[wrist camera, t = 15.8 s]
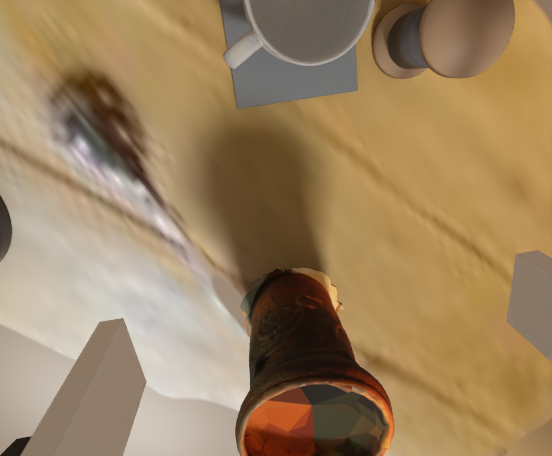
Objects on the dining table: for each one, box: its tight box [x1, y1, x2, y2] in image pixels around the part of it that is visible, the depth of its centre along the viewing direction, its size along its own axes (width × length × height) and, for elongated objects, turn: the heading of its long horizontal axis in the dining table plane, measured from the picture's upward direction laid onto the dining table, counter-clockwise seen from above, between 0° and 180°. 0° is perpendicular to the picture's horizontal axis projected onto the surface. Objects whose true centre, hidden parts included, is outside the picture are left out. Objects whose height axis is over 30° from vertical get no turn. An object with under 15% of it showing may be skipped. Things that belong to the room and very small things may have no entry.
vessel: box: [235, 267, 394, 456], centre depth 41 cm, size 14×14×20 cm
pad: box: [220, 0, 357, 109], centre depth 36 cm, size 13×16×1 cm
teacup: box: [223, 0, 375, 69], centre depth 32 cm, size 14×11×8 cm
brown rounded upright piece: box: [372, 0, 515, 79], centre depth 33 cm, size 7×7×12 cm
